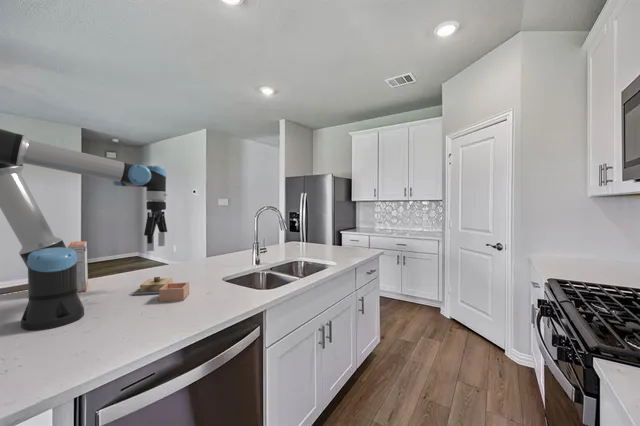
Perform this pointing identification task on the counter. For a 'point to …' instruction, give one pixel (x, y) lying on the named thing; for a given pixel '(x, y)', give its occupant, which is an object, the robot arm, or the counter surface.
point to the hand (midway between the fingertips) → (156, 248)
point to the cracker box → (81, 264)
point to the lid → (154, 284)
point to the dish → (174, 292)
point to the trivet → (145, 293)
